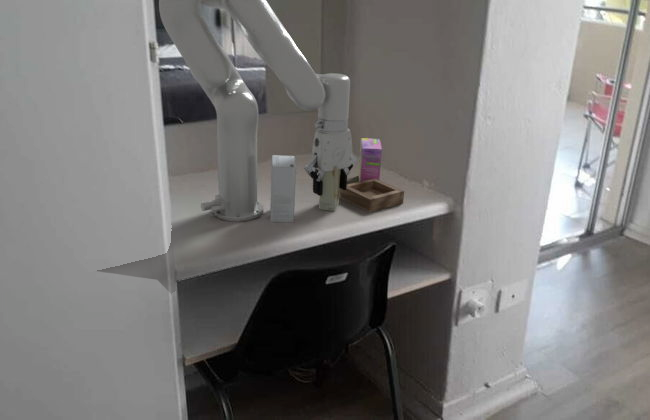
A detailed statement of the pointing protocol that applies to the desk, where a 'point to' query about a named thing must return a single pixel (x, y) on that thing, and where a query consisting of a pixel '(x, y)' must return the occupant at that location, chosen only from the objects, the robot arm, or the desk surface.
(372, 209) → the shallow wooden tray
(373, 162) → the box
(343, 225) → the desk surface
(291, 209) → the skincare box
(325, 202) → the skincare box
